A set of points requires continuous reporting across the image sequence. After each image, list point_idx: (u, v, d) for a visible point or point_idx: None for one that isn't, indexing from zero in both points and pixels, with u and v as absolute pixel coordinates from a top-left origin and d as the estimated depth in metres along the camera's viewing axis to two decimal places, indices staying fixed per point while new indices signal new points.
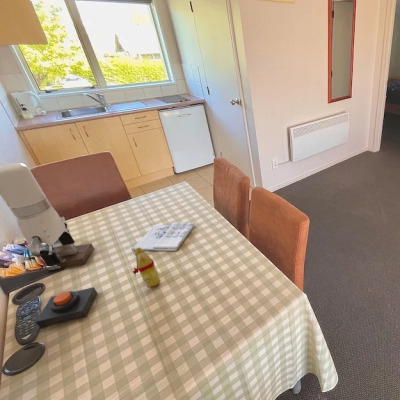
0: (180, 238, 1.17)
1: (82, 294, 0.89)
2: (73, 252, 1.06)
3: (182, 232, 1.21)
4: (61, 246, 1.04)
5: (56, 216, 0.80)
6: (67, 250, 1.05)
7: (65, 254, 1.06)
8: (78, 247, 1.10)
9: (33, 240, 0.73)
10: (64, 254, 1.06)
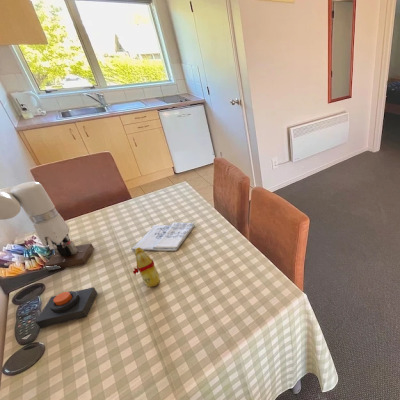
0: (180, 238, 1.17)
1: (82, 294, 0.89)
2: (73, 252, 1.06)
3: (182, 232, 1.21)
4: None
5: (62, 221, 1.03)
6: None
7: None
8: (78, 247, 1.10)
9: (48, 241, 0.98)
10: None
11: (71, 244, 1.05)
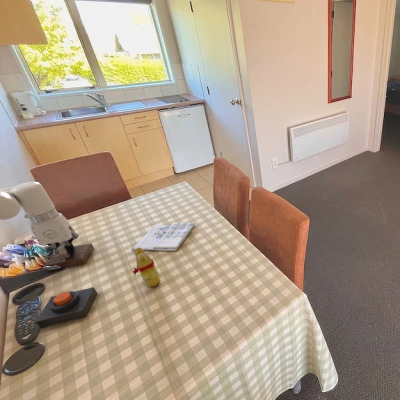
0: (180, 238, 1.17)
1: (82, 294, 0.89)
2: None
3: (182, 232, 1.21)
4: None
5: None
6: None
7: None
8: (78, 247, 1.10)
9: (71, 231, 1.03)
10: None
11: None
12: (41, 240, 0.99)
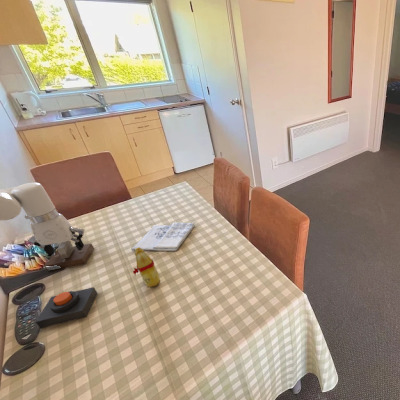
0: (180, 238, 1.17)
1: (82, 294, 0.89)
2: (73, 248, 1.09)
3: (182, 232, 1.21)
4: (65, 244, 1.05)
5: None
6: (70, 247, 1.07)
7: (70, 252, 1.07)
8: None
9: (72, 228, 1.03)
10: (70, 253, 1.06)
11: None
12: (42, 240, 0.99)
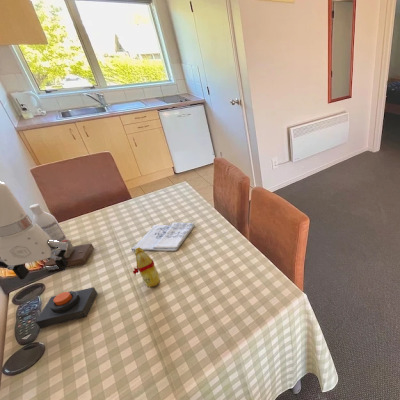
0: (180, 238, 1.17)
1: (82, 294, 0.89)
2: (73, 248, 1.09)
3: (182, 232, 1.21)
4: None
5: None
6: (70, 247, 1.07)
7: (70, 252, 1.07)
8: (78, 247, 1.10)
9: (52, 242, 0.77)
10: (70, 253, 1.06)
11: None
12: (9, 260, 0.73)
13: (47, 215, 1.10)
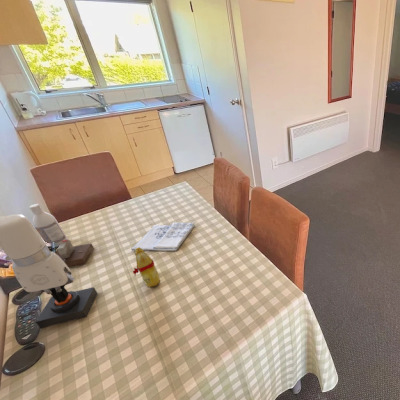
0: (180, 238, 1.17)
1: (82, 294, 0.89)
2: (73, 248, 1.09)
3: (182, 232, 1.21)
4: (65, 244, 1.05)
5: None
6: (70, 247, 1.07)
7: (70, 252, 1.07)
8: (78, 247, 1.10)
9: (66, 274, 0.81)
10: (70, 253, 1.06)
11: None
12: (29, 287, 0.77)
13: (47, 215, 1.10)
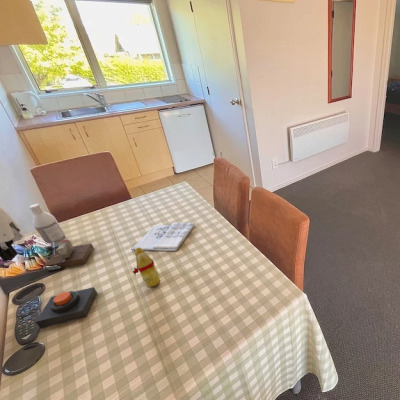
0: (180, 238, 1.17)
1: (82, 294, 0.89)
2: (73, 248, 1.09)
3: (182, 232, 1.21)
4: (65, 244, 1.05)
5: None
6: (70, 247, 1.07)
7: (70, 252, 1.07)
8: (78, 247, 1.10)
9: (12, 230, 0.76)
10: (70, 253, 1.06)
11: None
12: None
13: (47, 215, 1.10)
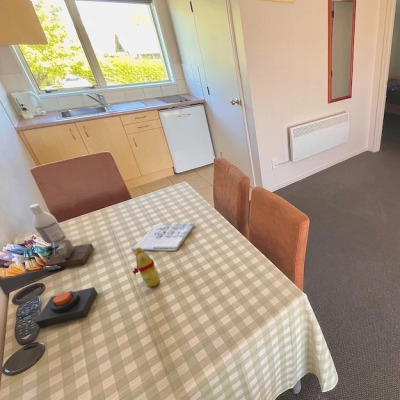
0: (180, 238, 1.17)
1: (82, 294, 0.89)
2: (73, 248, 1.09)
3: (182, 232, 1.21)
4: (65, 244, 1.05)
5: None
6: (70, 247, 1.07)
7: (70, 252, 1.07)
8: (78, 247, 1.10)
9: None
10: (70, 253, 1.06)
11: None
12: None
13: (47, 215, 1.10)
